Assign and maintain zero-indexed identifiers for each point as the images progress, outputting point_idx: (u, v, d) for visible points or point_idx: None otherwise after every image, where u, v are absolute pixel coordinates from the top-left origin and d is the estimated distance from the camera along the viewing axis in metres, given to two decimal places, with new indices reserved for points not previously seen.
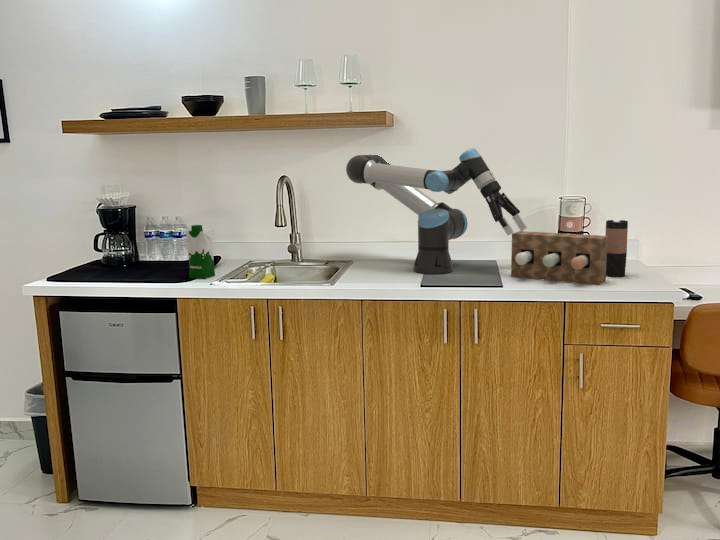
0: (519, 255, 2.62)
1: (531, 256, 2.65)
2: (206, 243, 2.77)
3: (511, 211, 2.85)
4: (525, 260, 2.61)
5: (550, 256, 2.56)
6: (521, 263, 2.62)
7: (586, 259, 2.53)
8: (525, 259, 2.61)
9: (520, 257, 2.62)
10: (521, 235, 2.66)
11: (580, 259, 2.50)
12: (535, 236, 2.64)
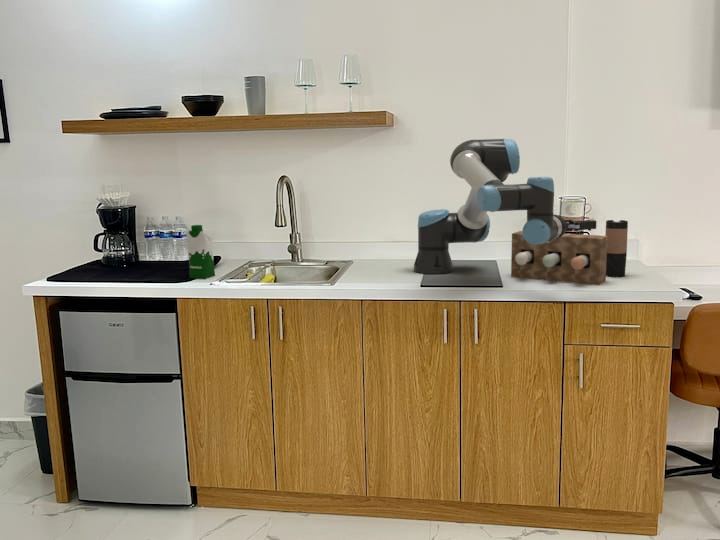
0: (519, 255, 2.62)
1: (531, 256, 2.65)
2: (206, 243, 2.77)
3: None
4: (525, 260, 2.61)
5: (550, 256, 2.56)
6: (521, 263, 2.62)
7: (586, 259, 2.53)
8: (525, 259, 2.61)
9: (520, 257, 2.62)
10: (521, 235, 2.66)
11: (580, 259, 2.50)
12: None
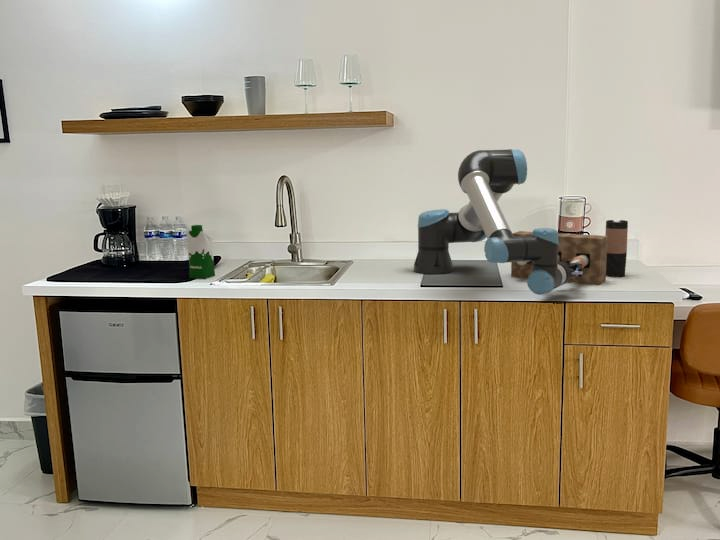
0: None
1: None
2: (206, 243, 2.77)
3: None
4: None
5: None
6: (521, 263, 2.62)
7: (586, 259, 2.54)
8: None
9: None
10: (521, 235, 2.66)
11: (580, 259, 2.50)
12: None
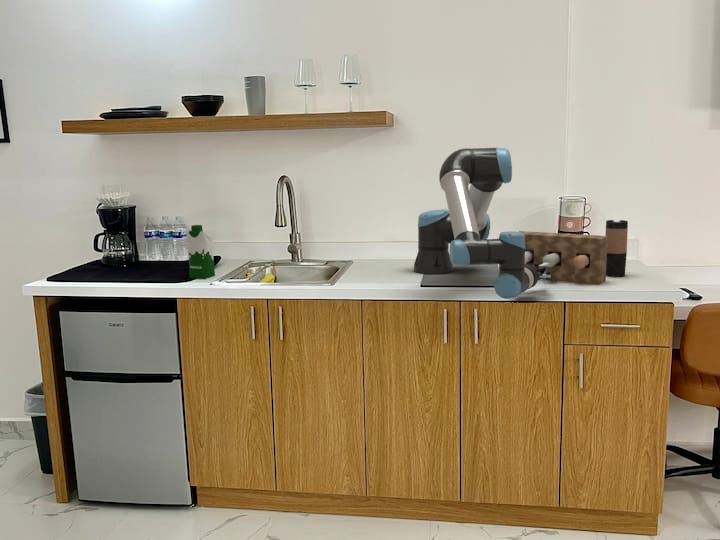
0: None
1: (531, 256, 2.65)
2: (206, 243, 2.77)
3: None
4: (525, 260, 2.61)
5: (550, 256, 2.56)
6: None
7: (588, 258, 2.55)
8: (525, 259, 2.61)
9: None
10: None
11: (582, 258, 2.52)
12: (535, 236, 2.64)
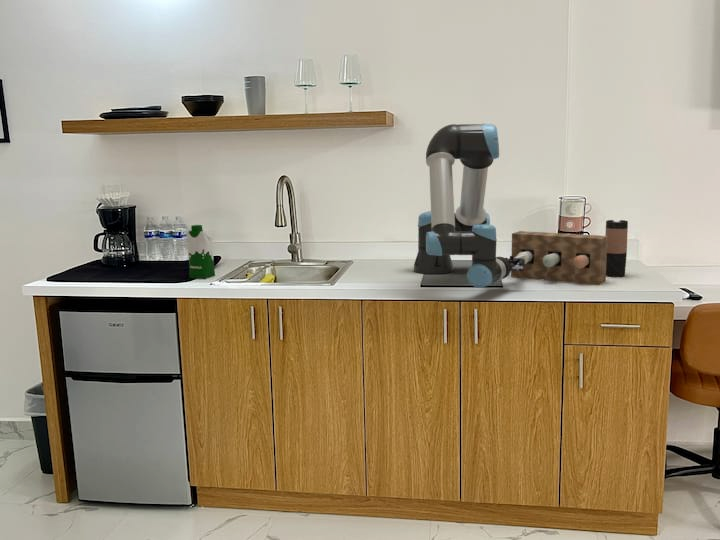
0: (520, 254, 2.63)
1: (532, 256, 2.66)
2: (206, 243, 2.77)
3: None
4: (526, 260, 2.62)
5: (550, 256, 2.56)
6: None
7: (588, 258, 2.55)
8: (526, 259, 2.62)
9: None
10: (521, 235, 2.66)
11: (582, 258, 2.52)
12: (535, 236, 2.64)
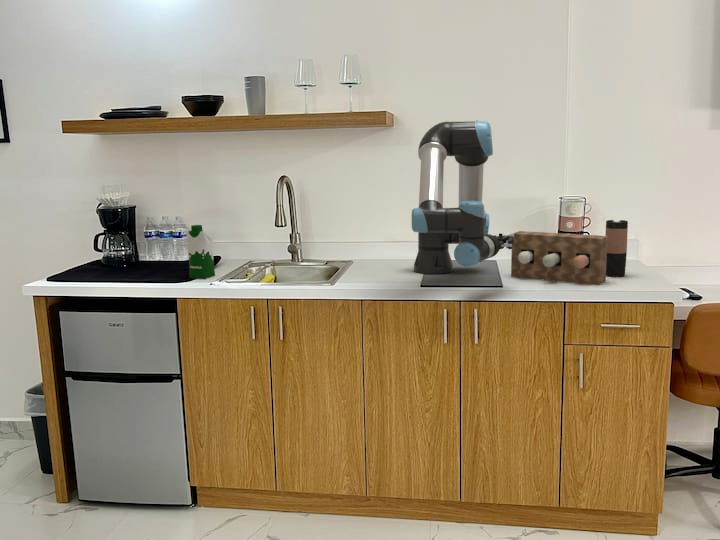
0: (522, 254, 2.64)
1: None
2: (206, 243, 2.77)
3: None
4: (528, 259, 2.63)
5: (550, 256, 2.56)
6: (524, 262, 2.64)
7: (588, 258, 2.55)
8: (528, 258, 2.63)
9: (522, 255, 2.64)
10: (521, 235, 2.66)
11: (582, 258, 2.52)
12: (535, 236, 2.64)
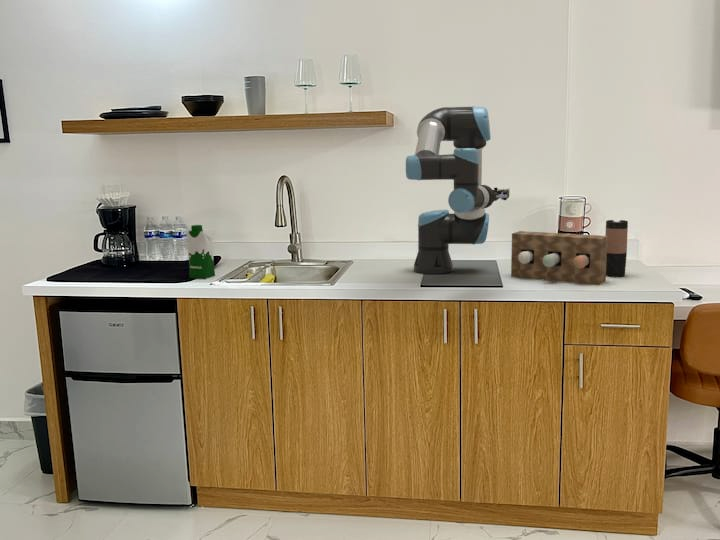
0: (522, 254, 2.64)
1: None
2: (206, 243, 2.77)
3: None
4: (528, 259, 2.63)
5: (550, 256, 2.56)
6: (524, 262, 2.64)
7: (588, 258, 2.55)
8: (528, 258, 2.63)
9: (522, 255, 2.64)
10: (521, 235, 2.66)
11: (582, 258, 2.52)
12: (535, 236, 2.64)
